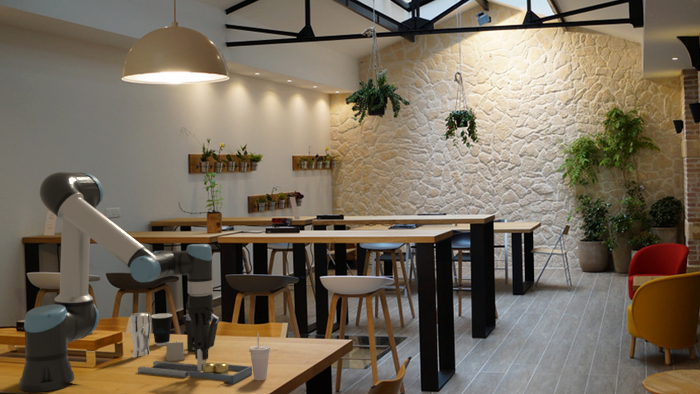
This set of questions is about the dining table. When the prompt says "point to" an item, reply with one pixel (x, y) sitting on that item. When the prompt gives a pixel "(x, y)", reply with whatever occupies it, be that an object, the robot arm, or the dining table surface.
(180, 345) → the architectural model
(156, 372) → the slot plate
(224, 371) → the gold rounded cube
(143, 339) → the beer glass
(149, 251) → the robot arm
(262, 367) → the smoothie
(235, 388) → the dining table surface
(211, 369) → the gold rounded block
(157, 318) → the dixie cup
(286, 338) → the dining table surface
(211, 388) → the dining table surface
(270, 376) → the dining table surface
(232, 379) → the blue-grey rectangular frame
